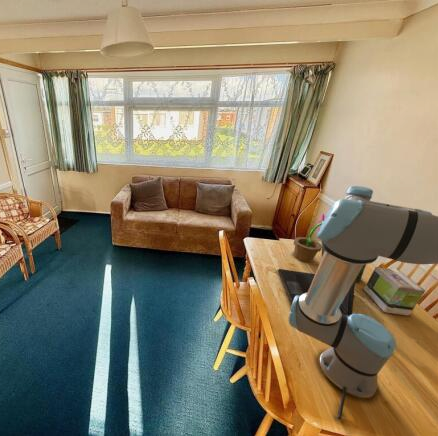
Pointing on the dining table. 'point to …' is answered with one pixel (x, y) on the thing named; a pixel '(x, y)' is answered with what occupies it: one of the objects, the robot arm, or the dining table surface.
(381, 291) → the tea box
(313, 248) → the flowerpot
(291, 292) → the laptop
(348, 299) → the laptop screen
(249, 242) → the dining table surface
